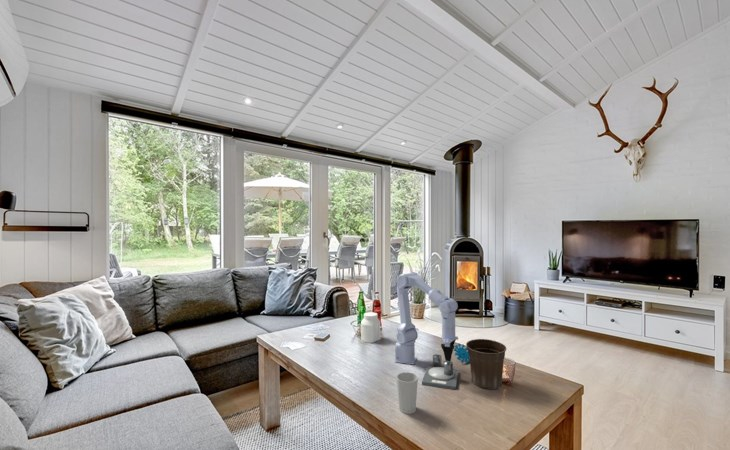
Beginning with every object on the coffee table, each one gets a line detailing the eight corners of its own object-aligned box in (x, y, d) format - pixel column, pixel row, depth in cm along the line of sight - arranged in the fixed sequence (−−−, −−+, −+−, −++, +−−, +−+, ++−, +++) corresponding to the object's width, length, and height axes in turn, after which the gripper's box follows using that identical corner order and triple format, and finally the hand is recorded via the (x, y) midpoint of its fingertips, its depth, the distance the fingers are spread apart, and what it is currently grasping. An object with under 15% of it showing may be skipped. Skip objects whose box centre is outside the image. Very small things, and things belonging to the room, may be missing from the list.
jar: (370, 344, 190) (369, 317, 190) (358, 340, 196) (358, 314, 196) (383, 338, 198) (383, 313, 198) (371, 334, 205) (371, 310, 205)
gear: (460, 362, 159) (452, 343, 166) (453, 368, 163) (445, 348, 170) (477, 361, 164) (469, 342, 171) (471, 367, 167) (462, 348, 174)
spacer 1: (432, 367, 159) (432, 357, 158) (433, 364, 162) (433, 353, 162) (441, 368, 157) (440, 358, 157) (442, 365, 161) (441, 354, 161)
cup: (395, 403, 128) (394, 372, 127) (415, 402, 128) (415, 371, 128) (398, 415, 120) (398, 382, 120) (420, 414, 120) (420, 381, 120)
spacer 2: (451, 376, 145) (451, 364, 145) (442, 374, 147) (442, 363, 147) (454, 372, 148) (453, 361, 148) (445, 370, 150) (445, 359, 150)
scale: (421, 384, 142) (421, 379, 142) (427, 368, 157) (427, 364, 157) (455, 389, 138) (455, 384, 138) (458, 372, 153) (458, 368, 153)
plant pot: (487, 396, 132) (487, 356, 132) (458, 379, 146) (458, 343, 146) (515, 386, 140) (515, 348, 139) (485, 371, 154) (484, 336, 154)
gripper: (456, 332, 139) (457, 365, 139) (459, 322, 153) (459, 352, 153) (439, 331, 142) (440, 362, 142) (443, 321, 155) (443, 350, 155)
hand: (448, 357), depth 148 cm, fingers open, 7 cm apart
